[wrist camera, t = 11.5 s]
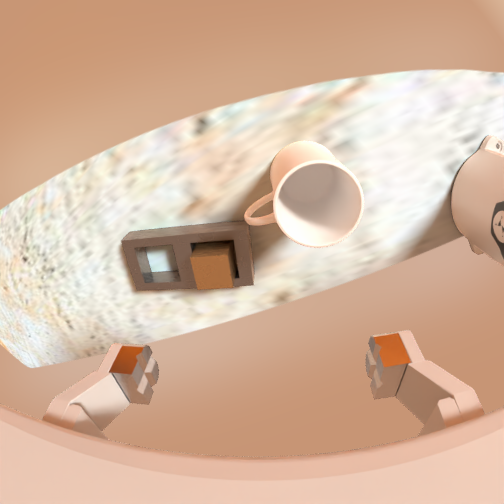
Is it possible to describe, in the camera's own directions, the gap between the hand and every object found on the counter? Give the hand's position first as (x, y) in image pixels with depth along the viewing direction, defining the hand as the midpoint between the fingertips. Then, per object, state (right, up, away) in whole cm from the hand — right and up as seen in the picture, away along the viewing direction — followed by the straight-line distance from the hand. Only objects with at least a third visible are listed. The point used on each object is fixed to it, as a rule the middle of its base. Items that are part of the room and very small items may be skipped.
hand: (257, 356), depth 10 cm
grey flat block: (-9, +4, +31) cm, 33 cm away
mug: (+5, +13, +26) cm, 29 cm away
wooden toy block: (-5, +4, +31) cm, 32 cm away
